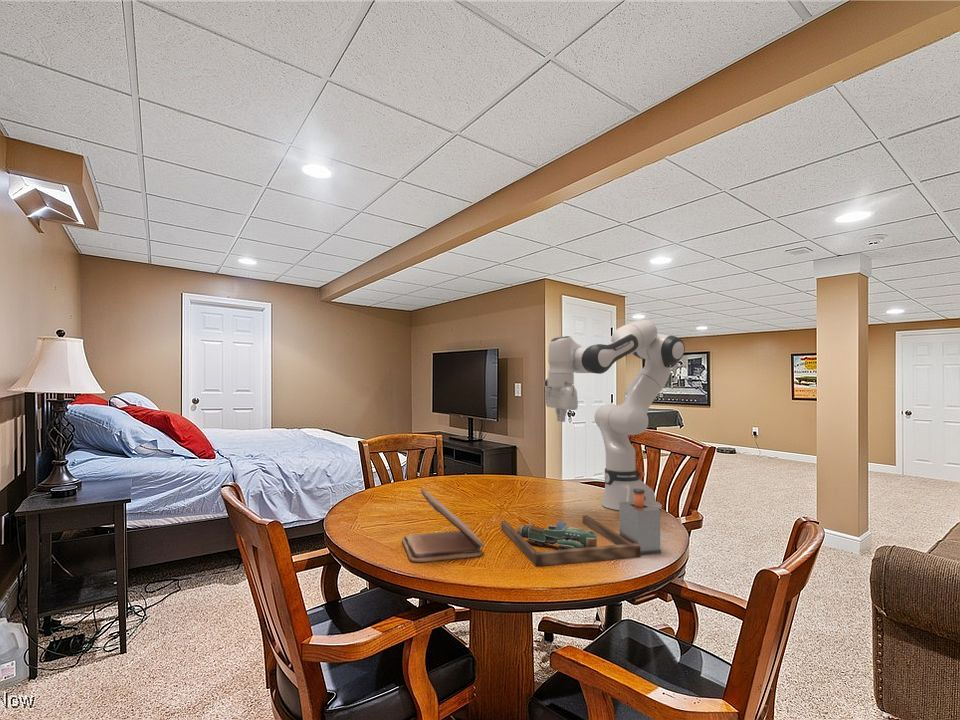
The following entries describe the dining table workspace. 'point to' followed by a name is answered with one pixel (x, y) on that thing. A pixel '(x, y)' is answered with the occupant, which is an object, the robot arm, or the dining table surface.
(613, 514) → the dining table surface
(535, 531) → the hoverbike
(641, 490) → the orange and black cylinder
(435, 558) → the case
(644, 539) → the grey holder box
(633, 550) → the brown flat square frame
